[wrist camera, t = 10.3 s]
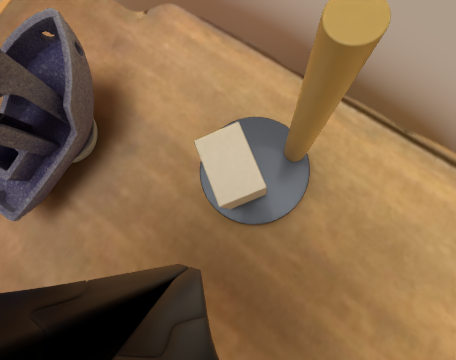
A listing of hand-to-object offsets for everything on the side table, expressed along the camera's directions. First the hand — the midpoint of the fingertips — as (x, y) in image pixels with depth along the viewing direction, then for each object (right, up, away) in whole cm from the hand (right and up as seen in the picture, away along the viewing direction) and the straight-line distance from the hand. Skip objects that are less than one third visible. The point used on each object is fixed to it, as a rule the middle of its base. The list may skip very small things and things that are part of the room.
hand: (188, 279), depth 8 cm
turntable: (+4, +4, +12) cm, 13 cm away
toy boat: (-13, +7, +15) cm, 21 cm away
